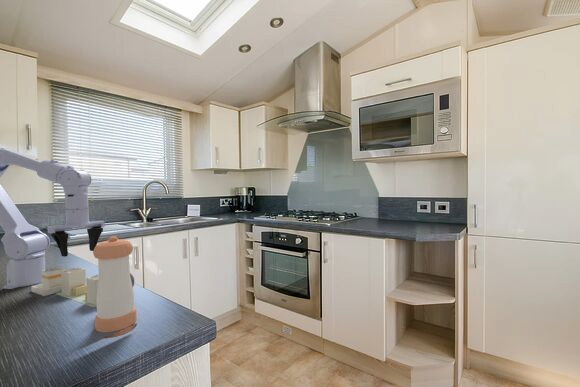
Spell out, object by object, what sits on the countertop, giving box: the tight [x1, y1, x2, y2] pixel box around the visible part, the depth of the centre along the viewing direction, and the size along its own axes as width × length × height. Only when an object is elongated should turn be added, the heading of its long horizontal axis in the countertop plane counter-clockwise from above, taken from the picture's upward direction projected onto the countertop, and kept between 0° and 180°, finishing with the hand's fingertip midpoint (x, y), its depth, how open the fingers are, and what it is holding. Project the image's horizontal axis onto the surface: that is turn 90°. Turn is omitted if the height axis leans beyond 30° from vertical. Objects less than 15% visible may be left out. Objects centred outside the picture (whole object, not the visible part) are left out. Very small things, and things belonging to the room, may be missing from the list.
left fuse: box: [61, 266, 87, 296], centre depth 79 cm, size 4×4×6 cm
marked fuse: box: [41, 266, 66, 290], centre depth 81 cm, size 4×4×6 cm
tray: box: [30, 283, 62, 297], centre depth 81 cm, size 8×8×3 cm
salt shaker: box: [92, 235, 138, 339], centre depth 60 cm, size 7×7×19 cm
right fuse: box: [86, 274, 99, 305], centre depth 72 cm, size 4×4×6 cm
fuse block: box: [55, 284, 97, 308], centre depth 75 cm, size 19×6×3 cm, turn 60°
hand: (79, 253), depth 89 cm, fingers open, 7 cm apart
